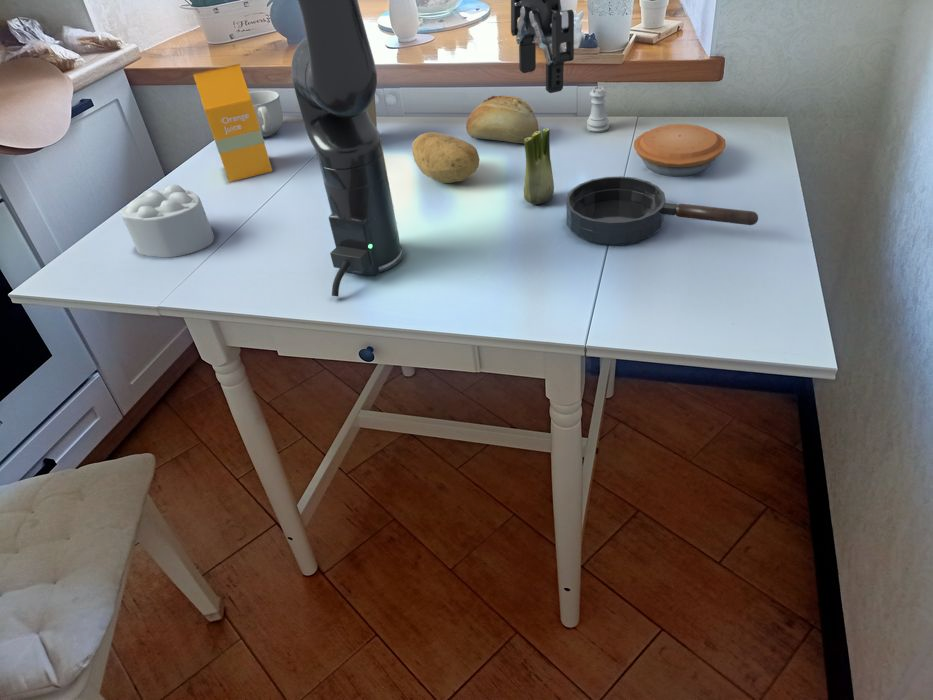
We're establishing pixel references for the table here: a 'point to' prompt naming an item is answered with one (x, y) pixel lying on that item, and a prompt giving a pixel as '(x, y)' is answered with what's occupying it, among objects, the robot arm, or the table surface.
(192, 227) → the lumpy-topped squat cylinder
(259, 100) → the teacup
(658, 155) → the pie
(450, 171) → the potato
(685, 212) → the pan handle
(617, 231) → the pan
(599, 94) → the rook chess piece
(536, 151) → the fennel bulb
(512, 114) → the bread roll
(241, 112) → the orange juice
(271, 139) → the table surface
